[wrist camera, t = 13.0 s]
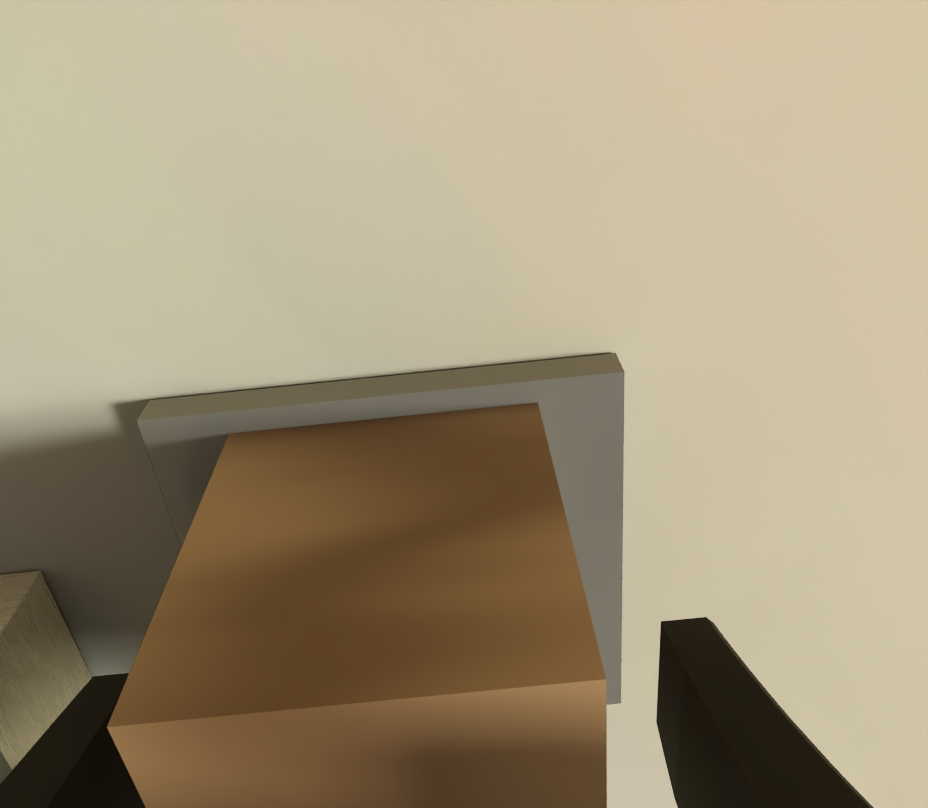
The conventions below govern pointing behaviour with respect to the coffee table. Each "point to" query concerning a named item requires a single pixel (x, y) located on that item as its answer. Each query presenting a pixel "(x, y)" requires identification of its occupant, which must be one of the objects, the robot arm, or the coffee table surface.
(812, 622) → the coffee table surface
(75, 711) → the robot arm
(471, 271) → the coffee table surface
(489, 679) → the walnut block
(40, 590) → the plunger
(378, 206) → the coffee table surface
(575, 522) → the slate coaster
